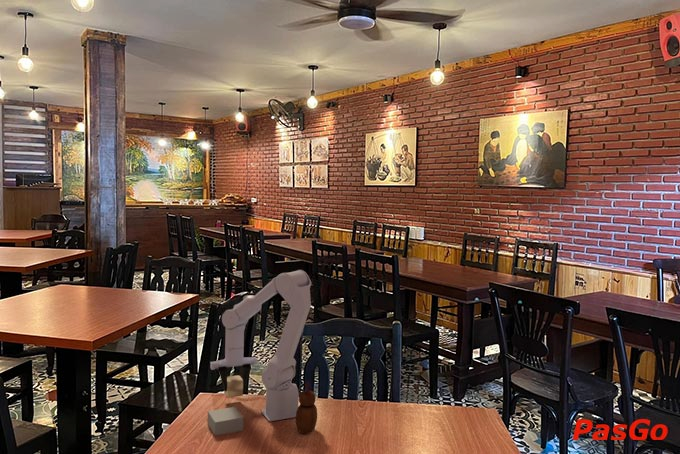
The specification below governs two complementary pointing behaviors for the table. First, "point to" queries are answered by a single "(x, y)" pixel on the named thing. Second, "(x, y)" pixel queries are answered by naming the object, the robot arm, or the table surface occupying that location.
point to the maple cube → (234, 386)
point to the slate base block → (225, 421)
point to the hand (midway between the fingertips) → (233, 388)
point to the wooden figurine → (306, 411)
